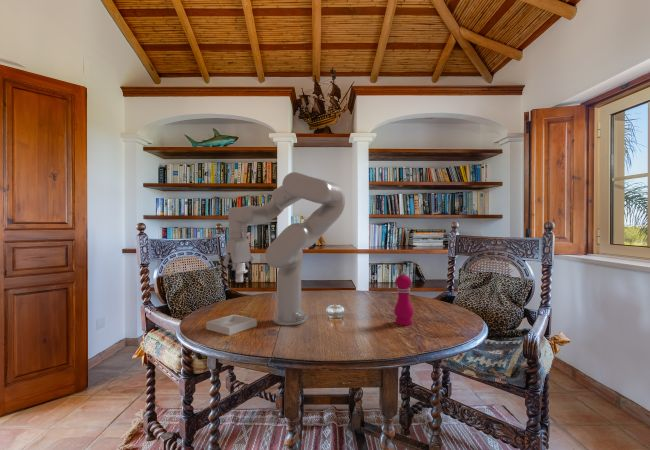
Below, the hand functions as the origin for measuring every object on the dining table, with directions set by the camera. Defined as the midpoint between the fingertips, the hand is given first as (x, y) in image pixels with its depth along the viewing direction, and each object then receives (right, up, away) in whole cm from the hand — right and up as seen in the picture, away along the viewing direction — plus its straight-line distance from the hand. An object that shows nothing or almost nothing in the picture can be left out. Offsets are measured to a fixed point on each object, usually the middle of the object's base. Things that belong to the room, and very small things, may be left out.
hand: (239, 278), depth 144 cm
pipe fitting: (0, -2, 0) cm, 2 cm away
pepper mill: (+67, -15, -13) cm, 70 cm away
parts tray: (+1, -16, -17) cm, 23 cm away
